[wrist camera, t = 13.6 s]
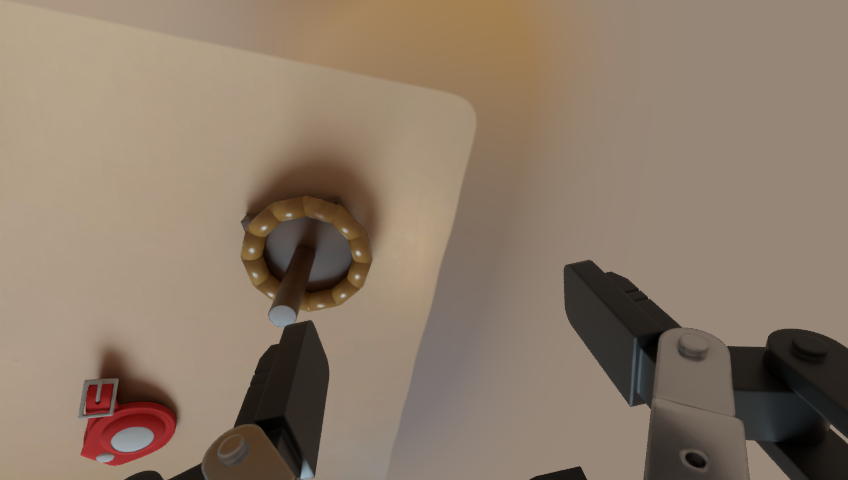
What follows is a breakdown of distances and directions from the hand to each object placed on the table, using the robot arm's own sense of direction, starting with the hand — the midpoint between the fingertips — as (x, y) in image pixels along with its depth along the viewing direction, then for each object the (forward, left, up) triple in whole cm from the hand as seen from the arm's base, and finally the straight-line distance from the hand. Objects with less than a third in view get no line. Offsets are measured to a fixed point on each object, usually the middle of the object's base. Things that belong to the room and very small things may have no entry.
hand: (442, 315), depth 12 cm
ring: (+8, -11, -24) cm, 27 cm away
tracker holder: (+23, -36, -26) cm, 50 cm away
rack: (+8, -11, -26) cm, 29 cm away
